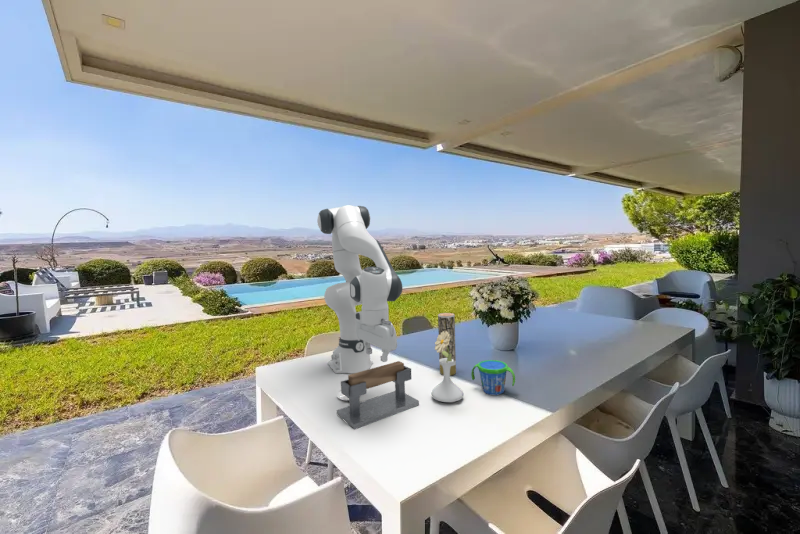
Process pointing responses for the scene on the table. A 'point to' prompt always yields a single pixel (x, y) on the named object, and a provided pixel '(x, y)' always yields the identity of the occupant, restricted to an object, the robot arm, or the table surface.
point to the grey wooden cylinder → (448, 324)
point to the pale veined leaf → (340, 395)
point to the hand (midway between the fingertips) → (376, 357)
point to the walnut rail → (376, 375)
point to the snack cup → (493, 376)
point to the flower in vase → (446, 374)
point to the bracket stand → (375, 402)
